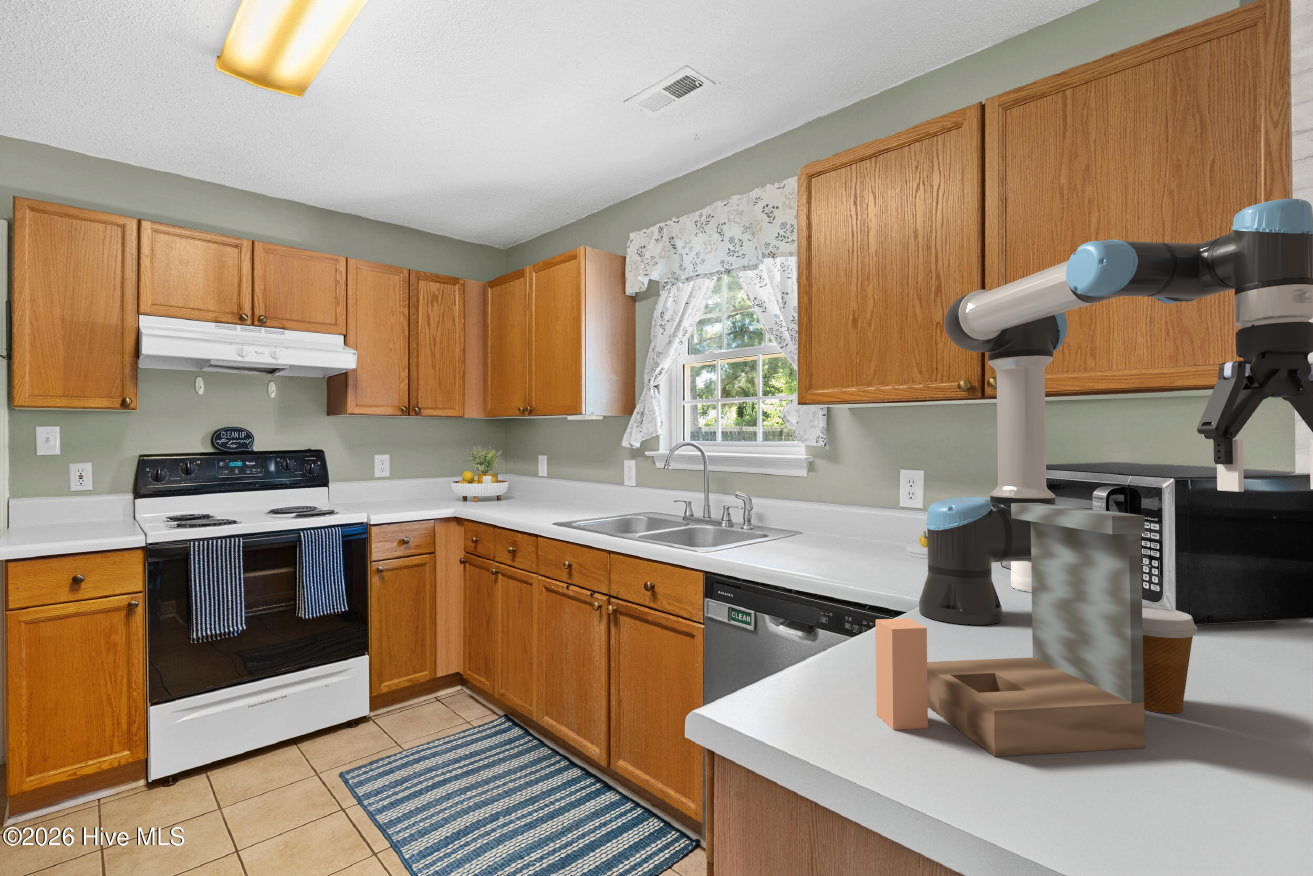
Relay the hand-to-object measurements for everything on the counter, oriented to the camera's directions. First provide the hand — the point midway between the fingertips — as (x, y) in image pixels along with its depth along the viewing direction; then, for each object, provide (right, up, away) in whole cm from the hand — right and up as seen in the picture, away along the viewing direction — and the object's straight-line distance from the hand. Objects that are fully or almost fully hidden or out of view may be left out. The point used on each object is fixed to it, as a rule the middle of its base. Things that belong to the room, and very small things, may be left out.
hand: (1278, 490), depth 82 cm
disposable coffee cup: (-15, -28, +2) cm, 32 cm away
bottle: (+9, -29, +70) cm, 77 cm away
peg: (-49, -28, -3) cm, 57 cm away
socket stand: (-35, -28, -3) cm, 45 cm away
